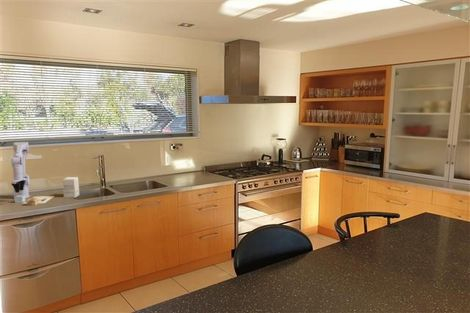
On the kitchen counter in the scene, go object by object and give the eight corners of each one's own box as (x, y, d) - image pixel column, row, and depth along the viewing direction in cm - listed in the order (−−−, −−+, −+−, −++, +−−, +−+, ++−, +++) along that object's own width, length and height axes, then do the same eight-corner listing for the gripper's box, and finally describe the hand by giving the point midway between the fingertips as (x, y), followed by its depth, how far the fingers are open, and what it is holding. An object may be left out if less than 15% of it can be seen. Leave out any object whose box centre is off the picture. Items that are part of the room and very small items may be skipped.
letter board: (22, 204, 242) (22, 203, 242) (34, 197, 262) (34, 196, 262) (44, 203, 245) (44, 203, 245) (54, 196, 265) (54, 195, 265)
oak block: (26, 205, 238) (26, 200, 237) (30, 203, 243) (29, 198, 242) (35, 205, 239) (35, 200, 238) (38, 203, 244) (38, 198, 243)
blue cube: (15, 203, 245) (14, 196, 244) (18, 201, 250) (17, 195, 249) (22, 203, 246) (22, 196, 245) (25, 201, 251) (25, 195, 250)
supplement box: (68, 195, 270) (67, 176, 268) (79, 194, 271) (78, 176, 269) (63, 197, 261) (62, 179, 259) (75, 197, 262) (74, 179, 260)
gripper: (19, 174, 238) (21, 193, 240) (28, 171, 252) (29, 188, 254) (8, 175, 237) (10, 193, 239) (18, 171, 251) (19, 189, 253)
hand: (19, 191), depth 247 cm, fingers open, 6 cm apart
